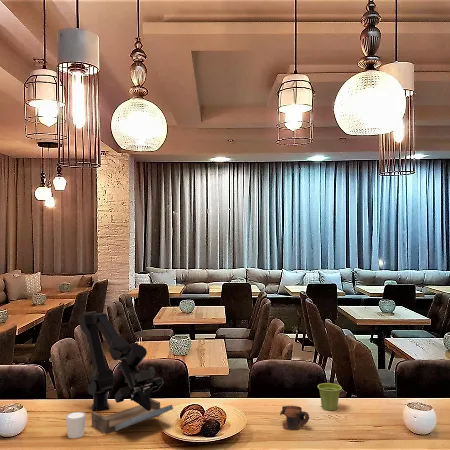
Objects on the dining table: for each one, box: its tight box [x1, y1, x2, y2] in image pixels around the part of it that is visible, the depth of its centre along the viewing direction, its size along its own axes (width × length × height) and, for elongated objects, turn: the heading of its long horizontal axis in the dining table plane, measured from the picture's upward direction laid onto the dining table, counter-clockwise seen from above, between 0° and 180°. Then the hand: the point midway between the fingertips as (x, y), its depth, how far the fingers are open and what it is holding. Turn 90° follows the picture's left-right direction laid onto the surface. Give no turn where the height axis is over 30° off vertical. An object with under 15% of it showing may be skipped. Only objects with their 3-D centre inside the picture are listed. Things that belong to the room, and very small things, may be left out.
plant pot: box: [317, 382, 343, 411], centre depth 199 cm, size 9×9×9 cm
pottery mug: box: [279, 405, 310, 431], centre depth 182 cm, size 12×10×8 cm
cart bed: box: [91, 397, 161, 435], centre depth 187 cm, size 10×24×5 cm, turn 135°
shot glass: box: [65, 411, 87, 439], centre depth 175 cm, size 7×7×7 cm
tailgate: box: [114, 404, 174, 432], centre depth 180 cm, size 2×18×12 cm
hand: (149, 410), depth 177 cm, fingers closed
